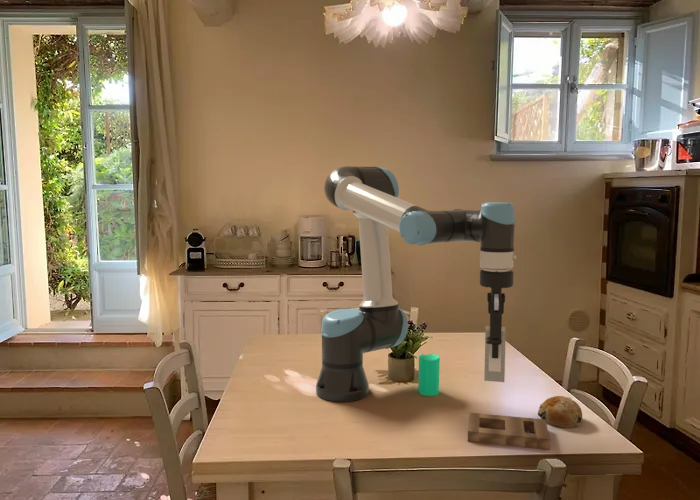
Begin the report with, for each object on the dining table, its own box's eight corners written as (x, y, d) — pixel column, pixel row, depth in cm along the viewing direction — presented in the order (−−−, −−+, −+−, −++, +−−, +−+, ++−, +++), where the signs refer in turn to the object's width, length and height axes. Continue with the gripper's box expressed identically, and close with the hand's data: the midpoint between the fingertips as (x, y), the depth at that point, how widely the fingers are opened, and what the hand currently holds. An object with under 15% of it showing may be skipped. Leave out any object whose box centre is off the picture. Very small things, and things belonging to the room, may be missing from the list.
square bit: (484, 380, 131) (485, 330, 130) (484, 374, 136) (485, 325, 134) (504, 382, 130) (505, 331, 129) (503, 375, 134) (505, 326, 133)
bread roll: (568, 444, 137) (585, 419, 134) (530, 419, 141) (545, 394, 139) (576, 429, 145) (591, 405, 143) (540, 406, 150) (554, 382, 147)
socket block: (467, 441, 131) (467, 430, 130) (469, 422, 141) (469, 412, 141) (549, 449, 126) (549, 439, 126) (544, 429, 137) (545, 419, 137)
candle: (441, 390, 163) (442, 349, 162) (435, 397, 158) (436, 355, 157) (421, 387, 166) (422, 347, 164) (415, 393, 160) (415, 352, 159)
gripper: (515, 275, 121) (512, 380, 123) (512, 264, 138) (509, 357, 140) (479, 274, 122) (477, 378, 125) (480, 263, 139) (478, 355, 142)
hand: (494, 367), depth 133 cm, fingers closed on square bit, 4 cm apart
